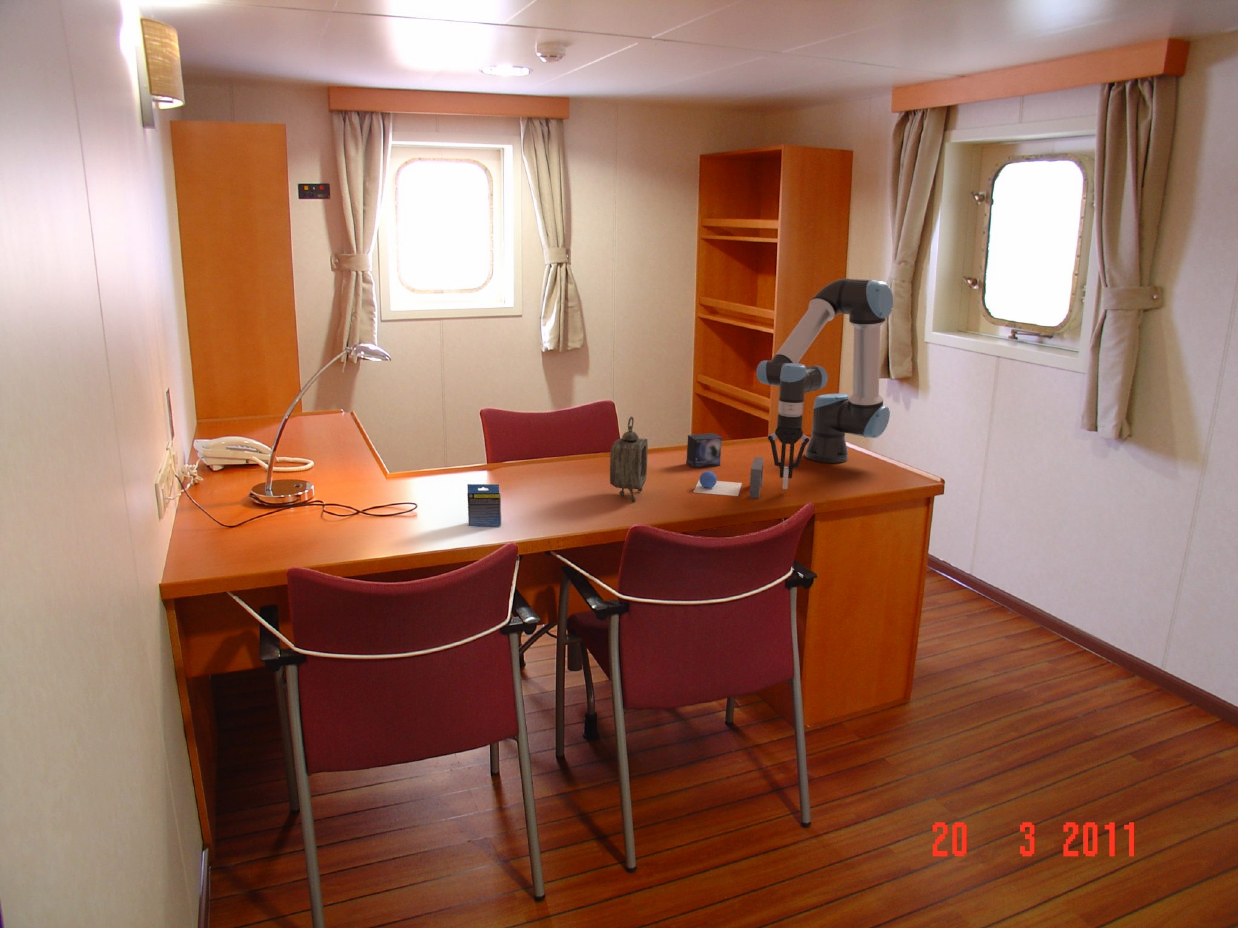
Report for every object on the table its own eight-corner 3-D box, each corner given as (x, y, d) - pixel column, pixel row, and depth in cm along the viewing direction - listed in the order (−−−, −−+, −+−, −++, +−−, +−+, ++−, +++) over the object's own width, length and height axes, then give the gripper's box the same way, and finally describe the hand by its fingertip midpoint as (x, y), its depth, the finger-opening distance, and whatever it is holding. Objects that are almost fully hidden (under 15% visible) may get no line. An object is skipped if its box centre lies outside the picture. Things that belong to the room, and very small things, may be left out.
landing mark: (699, 480, 293) (699, 479, 293) (741, 483, 290) (741, 482, 290) (693, 492, 280) (693, 491, 280) (737, 496, 277) (738, 495, 277)
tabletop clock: (638, 504, 267) (640, 423, 261) (608, 502, 269) (609, 421, 262) (646, 490, 281) (648, 412, 274) (618, 488, 283) (619, 411, 276)
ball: (714, 467, 286) (719, 483, 287) (697, 472, 287) (703, 487, 288) (713, 470, 281) (718, 487, 281) (696, 476, 282) (702, 492, 283)
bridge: (749, 497, 276) (750, 468, 273) (752, 484, 290) (754, 456, 287) (759, 498, 275) (760, 469, 273) (762, 484, 289) (763, 457, 286)
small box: (693, 468, 306) (695, 439, 303) (685, 463, 312) (686, 434, 309) (721, 466, 310) (722, 436, 307) (712, 461, 316) (713, 432, 313)
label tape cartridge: (501, 522, 250) (501, 480, 247) (500, 527, 246) (499, 484, 243) (469, 522, 250) (468, 480, 246) (468, 526, 246) (466, 484, 243)
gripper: (768, 415, 272) (763, 489, 278) (811, 418, 269) (805, 492, 275) (769, 410, 279) (764, 482, 285) (812, 413, 276) (806, 486, 282)
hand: (785, 487), depth 280 cm, fingers closed
